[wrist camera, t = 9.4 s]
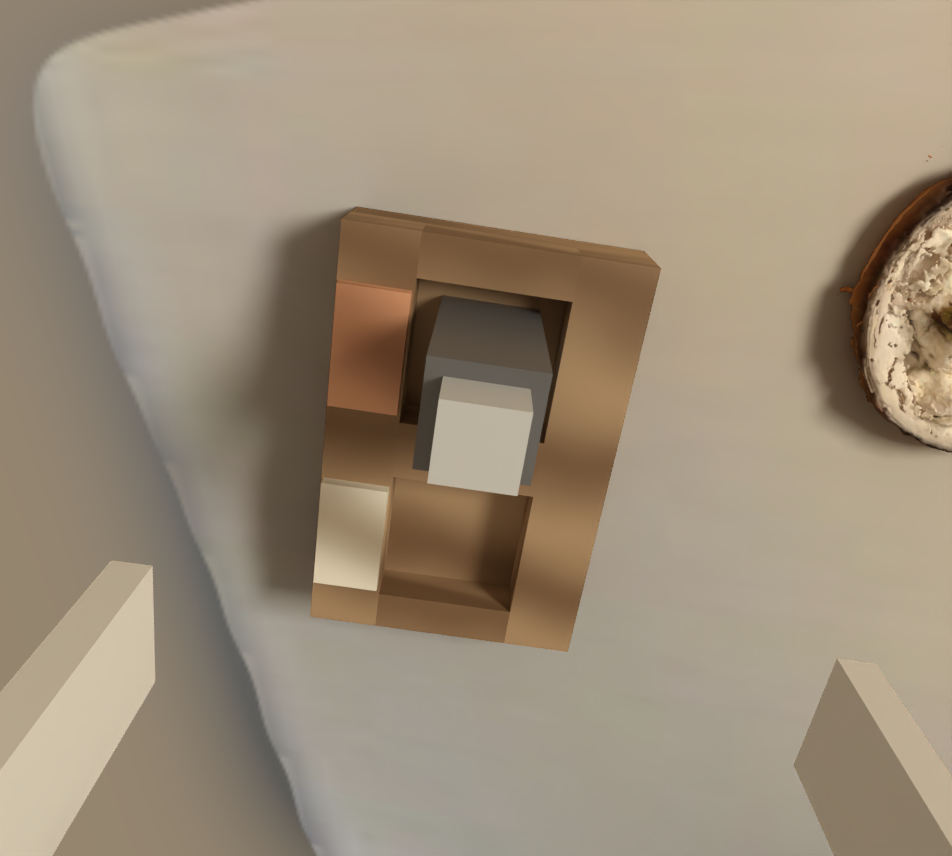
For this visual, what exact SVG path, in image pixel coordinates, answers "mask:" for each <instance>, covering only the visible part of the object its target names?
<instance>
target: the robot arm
mask: <svg viewBox="0 0 952 856" xmlns="http://www.w3.org/2000/svg"><path fill="white" fill-rule="evenodd" d="M152 567H153V566H149V565H142V564H135V563H127V562H120V561H110V563H109V564H108V565H107V566H106V567H105V568H104V570H103V571H102V572H101V573H100V574H99V576H98V577H97V578H96V579H95V580H94V581H93V583H92V584H91V585H90V586H89V587H88V589H87V590H86V591H85V592H84V593H83V595H82V596H81V597H80V598H79V599H78V601H77V602H76V603H75V604H74V605H73V606H72V608H71V609H70V610H69V611H68V612H67V614H66V615H65V616H64V617H63V618H62V619H61V621H60V622H59V623H58V624H57V625H56V627H55V628H54V629H53V630H52V631H51V633H50V634H49V635H48V636H47V637H46V639H45V640H44V641H43V642H42V643H41V644H40V645H39V647H38V648H37V649H36V650H35V651H34V653H33V654H32V655H31V656H30V657H29V659H28V660H27V661H26V662H25V663H24V665H23V666H22V667H21V668H20V669H19V670H18V672H17V673H16V674H15V675H14V676H13V677H12V679H11V680H10V681H9V682H8V683H7V685H6V686H5V687H4V688H3V689H2V691H1V692H0V856H52V855H53V853H54V852H55V850H56V848H57V846H58V845H59V843H60V842H61V840H62V838H63V837H64V835H65V833H66V831H67V830H68V828H69V826H70V825H71V823H72V821H73V820H74V818H75V816H76V815H77V813H78V811H79V809H80V807H81V806H82V804H83V803H84V801H85V799H86V798H87V796H88V794H89V793H90V791H91V789H92V788H93V786H94V784H95V782H96V781H97V779H98V777H99V776H100V774H101V772H102V770H103V769H104V767H105V766H106V764H107V762H108V760H109V759H110V757H111V755H112V754H113V752H114V750H115V749H116V747H117V745H118V744H119V742H120V740H121V739H122V737H123V735H124V733H125V732H126V730H127V728H128V726H129V725H130V723H131V721H132V720H133V718H134V717H135V715H136V713H137V711H138V709H139V708H140V706H141V705H142V703H143V701H144V700H145V698H146V696H147V695H148V693H149V691H150V689H151V688H152V686H153V684H154V683H155V654H154V653H155V652H154V611H153V569H152ZM794 766H795V769H796V771H797V773H798V775H799V778H800V780H801V782H802V784H803V787H804V789H805V791H806V793H807V796H808V798H809V800H810V802H811V804H812V807H813V809H814V811H815V813H816V816H817V818H818V820H819V822H820V825H821V827H822V829H823V831H824V834H825V836H826V838H827V840H828V843H829V845H830V847H831V849H832V852H833V854H834V856H952V776H951V775H950V773H949V772H948V770H947V769H946V767H945V766H944V764H943V763H942V761H941V760H940V758H939V757H938V755H937V754H936V752H935V751H934V749H933V748H932V746H931V745H930V743H929V742H928V740H927V739H926V738H925V736H924V735H923V733H922V732H921V730H920V729H919V727H918V726H917V724H916V723H915V721H914V720H913V718H912V717H911V715H910V714H909V712H908V711H907V709H906V708H905V706H904V705H903V703H902V702H901V700H900V699H899V697H898V696H897V694H896V693H895V691H894V690H893V688H892V687H891V686H890V684H889V683H888V681H887V680H886V678H885V677H884V675H883V674H882V672H881V671H880V669H879V668H878V666H877V665H876V664H874V663H867V662H859V661H852V660H844V659H837V660H836V662H835V665H834V667H833V670H832V672H831V675H830V677H829V680H828V682H827V685H826V687H825V689H824V692H823V694H822V697H821V699H820V702H819V704H818V707H817V709H816V712H815V714H814V717H813V719H812V722H811V724H810V726H809V729H808V731H807V734H806V736H805V739H804V741H803V744H802V746H801V749H800V751H799V754H798V756H797V758H796V761H795V763H794Z"/></svg>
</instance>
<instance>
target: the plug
mask: <svg viewBox="0 0 952 856" xmlns="http://www.w3.org/2000/svg"><path fill="white" fill-rule="evenodd" d="M552 376H553V372H552V367H551V363H550V358H549V353H548V348H547V343H546V338H545V333H544V328H543V323H542V318H541V313H540V310H538V309H532V308H525V307H519V306H512V305H505V304H499V303H492V302H486V301H479V300H472V299H466V298H459V297H453V296H446V295H443V297H442V300H441V304H440V308H439V312H438V315H437V319H436V323H435V326H434V330H433V334H432V337H431V341H430V345H429V348H428V352H427V356H426V364H425V372H424V380H423V387H422V395H421V403H420V411H419V418H418V426H417V434H416V442H415V450H414V457H413V465H412V469H415V470H422V471H429V473H428V480H427V483H429V484H436V485H443V486H450V487H457V488H464V489H471V490H478V491H485V492H492V493H499V494H506V495H513V496H518V491H519V485H527V486H531V482H532V477H533V472H534V467H535V462H536V457H537V452H538V447H539V441H540V436H541V431H542V426H543V421H544V416H545V411H546V406H547V401H548V396H549V391H550V386H551V381H552Z"/></svg>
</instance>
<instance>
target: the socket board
mask: <svg viewBox="0 0 952 856" xmlns="http://www.w3.org/2000/svg"><path fill="white" fill-rule="evenodd" d="M660 270H661V268H660V267H659V266H658V265H657V264H656V263H655V262H654V261H653V260H652V259H651V258H650V257H649V256H648V255H647V253H646V252H645V251H639V250H632V249H626V248H620V247H613V246H607V245H600V244H594V243H588V242H581V241H575V240H568V239H562V238H555V237H549V236H543V235H536V234H530V233H523V232H517V231H510V230H504V229H498V228H491V227H485V226H478V225H472V224H466V223H459V222H453V221H446V220H440V219H433V218H427V217H421V216H414V215H408V214H401V213H395V212H388V211H382V210H376V209H369V208H363V207H356V208H354V209H353V210H352V211H351V212H349V213H348V214H347V215H346V216H344V217H343V218H342V219H341V227H340V240H339V253H338V266H337V278H336V291H335V304H334V317H333V330H332V343H331V356H330V369H329V382H328V395H327V408H326V421H325V433H324V446H323V459H322V472H321V485H320V498H319V511H318V524H317V537H316V550H315V563H314V576H313V588H312V601H311V614H310V617H317V618H325V619H332V620H339V621H347V622H354V623H361V624H369V625H376V626H383V627H391V628H398V629H405V630H413V631H420V632H427V633H435V634H442V635H449V636H457V637H464V638H471V639H478V640H486V641H493V642H500V643H508V644H515V645H522V646H530V647H537V648H544V649H552V650H559V651H566V652H568V648H569V644H570V640H571V636H572V632H573V628H574V624H575V620H576V616H577V611H578V607H579V603H580V599H581V595H582V591H583V587H584V583H585V579H586V574H587V570H588V566H589V562H590V558H591V554H592V550H593V546H594V542H595V537H596V533H597V529H598V525H599V521H600V517H601V513H602V509H603V505H604V500H605V496H606V492H607V488H608V484H609V480H610V476H611V472H612V468H613V464H614V459H615V455H616V451H617V447H618V443H619V439H620V435H621V431H622V427H623V422H624V418H625V414H626V410H627V406H628V402H629V398H630V394H631V390H632V385H633V381H634V377H635V373H636V369H637V365H638V361H639V357H640V353H641V349H642V344H643V340H644V336H645V332H646V328H647V324H648V320H649V316H650V312H651V307H652V303H653V299H654V295H655V291H656V287H657V283H658V279H659V275H660ZM443 295H446V296H453V297H459V298H466V299H472V300H479V301H486V302H492V303H499V304H505V305H512V306H519V307H525V308H532V309H538V310H540V313H541V318H542V323H543V328H544V333H545V338H546V343H547V348H548V353H549V358H550V363H551V367H552V372H553V376H552V381H551V386H550V391H549V396H548V401H547V406H546V411H545V416H544V421H543V426H542V431H541V436H540V441H539V447H538V452H537V457H536V462H535V467H534V472H533V477H532V482H531V486H527V485H519V491H518V496H513V495H506V494H499V493H492V492H485V491H478V490H471V489H464V488H457V487H450V486H443V485H436V484H429V483H427V480H428V473H429V471H422V470H415V469H412V465H413V457H414V450H415V442H416V434H417V426H418V418H419V411H420V403H421V395H422V387H423V380H424V372H425V364H426V356H427V352H428V348H429V345H430V341H431V337H432V334H433V330H434V326H435V323H436V319H437V315H438V312H439V308H440V304H441V300H442V297H443Z"/></svg>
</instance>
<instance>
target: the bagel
mask: <svg viewBox="0 0 952 856" xmlns="http://www.w3.org/2000/svg"><path fill="white" fill-rule="evenodd" d="M928 156H929V157H931V156H930V155H928ZM931 158H932V157H931ZM927 161H928V160H927ZM840 291H841V292H845V291H847V292H852V297H851V299H850V301H849V303H850V305H852V306H853V308H852V311H851V316H850V319H851V320H852V328H853V332H854V336H853V337H851V346H852V348H853V349H854V354H855V356H856V359H857V362H858V363H859V365H860V368H859V371H860V373H859V380H860V384H861V387H862V388H864V390H865V392H866V394H867V401H868V402H871V403H874V407H875V409H876V410H877V411H878V412H879V413H880V414H881V415H882V416H883V417H884V418H885V419H886V420H888V421H889V422H891V423H894V424H895V425H897V426H898V428H899V429H900V431H901V432H902V433H903V434H904V435H910V436H913V437H914V438H916V439H917V440H918V441H920V442H921V443H923V444H925V445H927V446H929V447H932V448H935V449H939V450H943V451H946V452H952V177H950V178H948V179H946V180H941V181H939V182H938V183H936V184H935V185H933V186H931V187H929V188H926V189H925V190H923V191H922V192H921V193H920V194H919V195H918V196H917V197H916V198H915V199H914V200H913V201H912V202H911V203H910V204H909V205H908V206H907V207H906V208H905V209H904V210H903V211H902V212H901V213H900V214H899V216H898V217H897V218H895V219H894V221H893V223H892V225H891V227H890V228H889V229H888V231H887V232H886V234H885V235H884V237H883V238H882V240H881V242H880V243H879V244H878V246H877V247H876V248H875V250H874V251H873V253H872V254H871V257H870V260H869V262H868V264H867V265H866V266H865V267H864V269H863V270H862V272H861V274H860V281H859V283H858V284H857V286H856V287H855V288H853V289H852V288H850V287H843V288H841V289H840ZM837 295H838V294H837Z"/></svg>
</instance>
